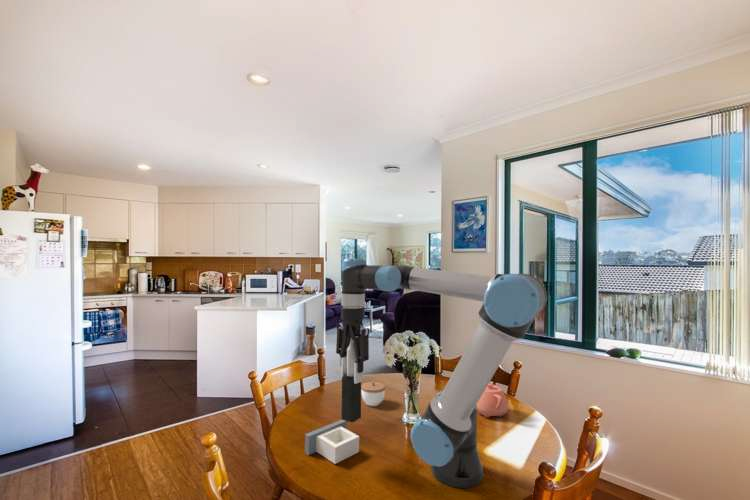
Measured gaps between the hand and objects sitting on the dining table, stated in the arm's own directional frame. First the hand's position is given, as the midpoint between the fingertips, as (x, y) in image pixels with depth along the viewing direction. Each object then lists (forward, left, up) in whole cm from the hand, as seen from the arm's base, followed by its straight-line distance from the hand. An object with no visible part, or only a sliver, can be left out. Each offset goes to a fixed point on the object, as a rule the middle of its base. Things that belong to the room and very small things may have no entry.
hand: (351, 379), depth 109 cm
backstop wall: (+12, 0, -25) cm, 28 cm away
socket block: (+6, 0, -25) cm, 26 cm away
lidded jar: (+26, -36, -25) cm, 51 cm away
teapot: (-14, -65, -25) cm, 71 cm away
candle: (0, 0, -12) cm, 12 cm away
